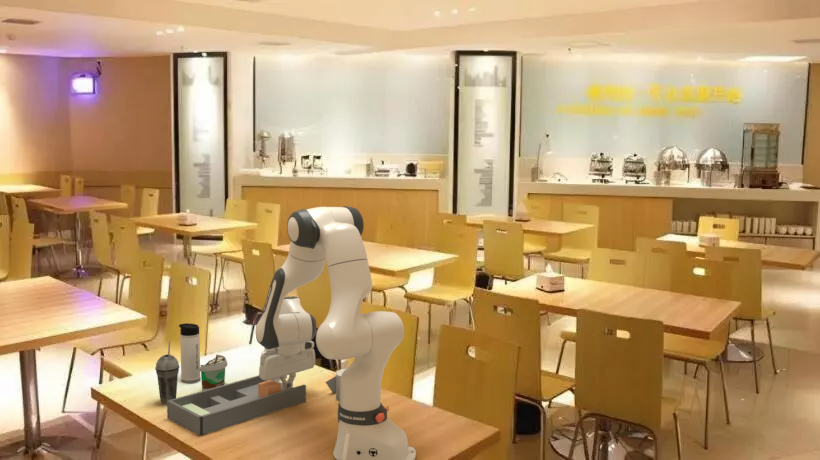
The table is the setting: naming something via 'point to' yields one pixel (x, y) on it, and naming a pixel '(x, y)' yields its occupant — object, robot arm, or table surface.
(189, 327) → the travel mug
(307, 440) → the table surface
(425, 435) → the table surface
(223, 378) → the food container
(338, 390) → the toilet tissue
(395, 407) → the table surface
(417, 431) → the table surface
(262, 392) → the terracotta block
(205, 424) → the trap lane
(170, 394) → the beverage cup
